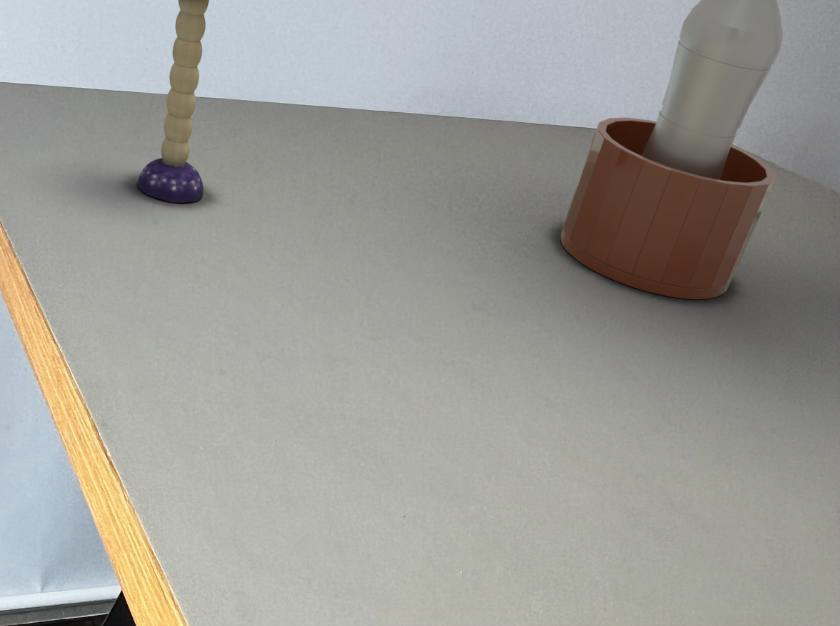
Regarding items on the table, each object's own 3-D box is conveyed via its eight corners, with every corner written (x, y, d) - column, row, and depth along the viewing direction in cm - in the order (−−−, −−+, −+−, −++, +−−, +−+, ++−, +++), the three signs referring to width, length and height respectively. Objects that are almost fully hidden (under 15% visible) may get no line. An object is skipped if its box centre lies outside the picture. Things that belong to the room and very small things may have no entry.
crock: (696, 241, 94) (738, 137, 89) (752, 311, 84) (803, 198, 80) (543, 213, 92) (579, 105, 88) (583, 281, 82) (625, 164, 78)
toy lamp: (177, 210, 78) (221, -78, 68) (114, 186, 79) (149, -101, 69) (214, 193, 81) (260, -83, 72) (153, 170, 83) (191, -104, 73)
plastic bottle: (685, 243, 91) (802, -50, 79) (701, 278, 85) (830, -32, 74) (599, 222, 90) (705, -74, 79) (610, 256, 85) (725, -58, 74)
